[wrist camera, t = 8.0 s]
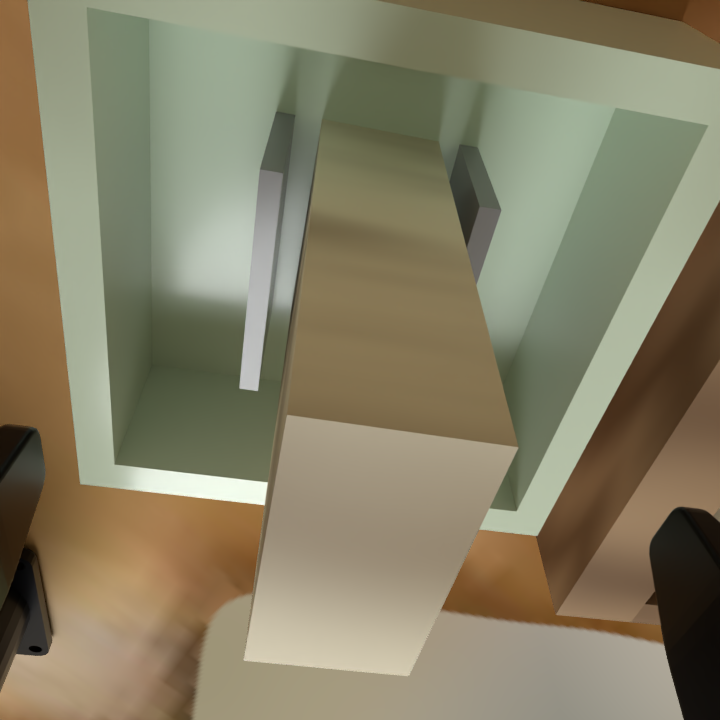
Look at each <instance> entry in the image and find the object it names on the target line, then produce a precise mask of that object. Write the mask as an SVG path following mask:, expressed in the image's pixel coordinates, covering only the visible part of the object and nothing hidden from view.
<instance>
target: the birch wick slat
mask: <svg viewBox="0 0 720 720" xmlns="http://www.w3.org/2000/svg"><path fill="white" fill-rule="evenodd" d="M518 448H519V447H518V443H517V439H516V435H515V431H514V428H513V424H512V420H511V416H510V412H509V408H508V405H507V401H506V397H505V393H504V389H503V386H502V382H501V378H500V374H499V370H498V366H497V363H496V359H495V355H494V351H493V347H492V343H491V340H490V336H489V332H488V328H487V324H486V320H485V317H484V313H483V309H482V305H481V301H480V297H479V294H478V290H477V286H476V282H475V278H474V275H473V271H472V267H471V263H470V259H469V255H468V252H467V248H466V244H465V240H464V236H463V232H462V229H461V225H460V221H459V217H458V213H457V209H456V206H455V202H454V198H453V194H452V190H451V186H450V183H449V179H448V175H447V171H446V167H445V163H444V160H443V156H442V152H441V148H440V144H439V142H438V141H433V140H428V139H423V138H418V137H413V136H407V135H402V134H397V133H392V132H387V131H382V130H377V129H372V128H366V127H361V126H356V125H351V124H346V123H341V122H336V121H330V120H325V119H322V122H321V128H320V134H319V140H318V147H317V153H316V159H315V165H314V171H313V178H312V184H311V190H310V196H309V202H308V209H307V215H306V221H305V227H304V233H303V240H302V246H301V252H300V258H299V265H298V271H297V277H296V283H295V289H294V296H293V302H292V308H291V314H290V321H289V329H288V336H287V344H286V351H285V358H284V366H283V373H282V380H281V388H280V395H279V403H278V410H277V417H276V425H275V432H274V440H273V447H272V454H271V462H270V469H269V476H268V484H267V491H266V499H265V506H264V513H263V521H262V528H261V536H260V543H259V550H258V558H257V565H256V572H255V580H254V587H253V595H252V602H251V610H250V617H249V624H248V632H247V640H246V647H245V654H244V661H255V662H265V663H275V664H286V665H296V666H307V667H318V668H328V669H338V670H349V671H360V672H370V673H381V674H392V675H401V676H409V674H410V672H411V670H412V668H413V666H414V664H415V662H416V660H417V658H418V656H419V654H420V651H421V649H422V647H423V645H424V643H425V641H426V639H427V637H428V635H429V632H430V631H431V629H432V627H433V624H434V622H435V620H436V618H437V616H438V614H439V612H440V610H441V608H442V606H443V604H444V602H445V599H446V597H447V595H448V593H449V591H450V589H451V587H452V585H453V583H454V581H455V579H456V577H457V575H458V572H459V570H460V568H461V566H462V564H463V562H464V560H465V558H466V556H467V554H468V552H469V550H470V548H471V545H472V543H473V541H474V539H475V537H476V535H477V533H478V531H479V529H480V527H481V525H482V523H483V520H484V518H485V516H486V514H487V512H488V510H489V508H490V506H491V504H492V502H493V500H494V498H495V496H496V493H497V491H498V489H499V487H500V485H501V483H502V481H503V479H504V477H505V475H506V473H507V471H508V468H509V466H510V464H511V462H512V460H513V458H514V456H515V454H516V452H517V450H518Z"/></svg>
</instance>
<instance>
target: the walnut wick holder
mask: <svg viewBox="0 0 720 720" xmlns="http://www.w3.org/2000/svg"><path fill="white" fill-rule="evenodd" d="M681 506H682V507H690V508H698V509H703V510H706V511H707V512H709V513H710V514H711V515H712V516H714V514H715V513H716V512H717V510H718V509H719V508H720V201H719V203H718V205H717V206H716V208H715V210H714V212H713V214H712V216H711V217H710V219H709V221H708V223H707V225H706V227H705V228H704V230H703V232H702V234H701V236H700V238H699V239H698V241H697V243H696V245H695V247H694V249H693V251H692V252H691V254H690V256H689V258H688V260H687V262H686V263H685V265H684V267H683V269H682V271H681V273H680V274H679V276H678V278H677V280H676V282H675V284H674V285H673V287H672V289H671V291H670V293H669V295H668V297H667V298H666V300H665V302H664V304H663V306H662V308H661V309H660V311H659V313H658V315H657V317H656V319H655V320H654V322H653V324H652V326H651V328H650V330H649V331H648V333H647V335H646V337H645V339H644V341H643V342H642V344H641V346H640V348H639V350H638V352H637V354H636V355H635V357H634V359H633V361H632V363H631V365H630V366H629V368H628V370H627V372H626V374H625V376H624V377H623V379H622V381H621V383H620V385H619V387H618V388H617V390H616V392H615V394H614V396H613V398H612V399H611V401H610V403H609V405H608V407H607V409H606V411H605V412H604V414H603V416H602V418H601V420H600V422H599V423H598V425H597V427H596V429H595V431H594V433H593V434H592V436H591V438H590V440H589V442H588V444H587V445H586V447H585V449H584V451H583V453H582V455H581V456H580V458H579V460H578V462H577V464H576V466H575V468H574V469H573V471H572V473H571V475H570V477H569V479H568V480H567V482H566V484H565V486H564V488H563V490H562V491H561V493H560V495H559V497H558V499H557V501H556V502H555V504H554V506H553V508H552V510H551V512H550V513H549V515H548V517H547V519H546V521H545V523H544V525H543V526H542V528H541V530H540V532H539V534H538V536H536V538H537V542H538V546H539V550H540V554H541V558H542V562H543V566H544V570H545V574H546V578H547V582H548V586H549V590H550V594H551V598H552V602H553V606H554V610H555V614H556V615H564V616H574V617H585V618H595V619H605V620H615V621H625V622H635V623H645V624H655V625H661V623H660V617H659V611H658V605H657V600H656V594H655V588H654V582H653V576H652V570H651V564H650V558H649V547H650V543H651V540H652V538H653V536H654V535H655V534H656V532H657V531H658V529H659V528H660V527H661V525H662V524H663V522H664V521H665V520H666V518H667V517H668V515H669V514H670V513H671V511H672V510H673V509H675V508H677V507H681Z"/></svg>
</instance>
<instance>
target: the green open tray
mask: <svg viewBox="0 0 720 720" xmlns="http://www.w3.org/2000/svg"><path fill="white" fill-rule="evenodd" d="M28 9H29V18H30V27H31V36H32V45H33V55H34V64H35V73H36V82H37V91H38V101H39V110H40V119H41V128H42V137H43V147H44V156H45V165H46V174H47V183H48V193H49V202H50V211H51V220H52V229H53V239H54V248H55V257H56V266H57V275H58V284H59V294H60V303H61V312H62V321H63V330H64V340H65V349H66V358H67V367H68V376H69V386H70V395H71V404H72V413H73V422H74V432H75V441H76V450H77V459H78V468H79V478H80V484H84V485H92V486H101V487H110V488H119V489H128V490H137V491H145V492H154V493H163V494H172V495H181V496H190V497H198V498H207V499H216V500H225V501H234V502H243V503H251V504H260V505H265V499H266V491H267V484H268V476H269V469H270V462H271V454H272V447H273V440H274V432H275V425H276V417H277V410H278V403H279V395H280V388H281V380H282V373H283V366H284V358H285V351H286V344H287V336H288V329H289V321H290V314H291V308H292V302H293V296H294V289H295V283H296V277H297V271H298V265H299V258H300V252H301V246H302V240H303V233H304V227H305V221H306V215H307V209H308V202H309V196H310V190H311V184H312V178H313V171H314V165H315V159H316V153H317V147H318V140H319V134H320V128H321V122H322V119H325V120H330V121H336V122H341V123H346V124H351V125H356V126H361V127H366V128H372V129H377V130H382V131H387V132H392V133H397V134H402V135H407V136H413V137H418V138H423V139H428V140H433V141H438V142H439V144H440V148H441V152H442V156H443V160H444V163H445V167H446V171H447V175H448V179H449V183H450V186H451V190H452V194H453V198H454V202H455V206H456V209H457V213H458V217H459V221H460V225H461V229H462V232H463V236H464V240H465V244H466V248H467V252H468V255H469V259H470V263H471V267H472V271H473V275H474V278H475V282H476V286H477V290H478V294H479V297H480V301H481V305H482V309H483V313H484V317H485V320H486V324H487V328H488V332H489V336H490V340H491V343H492V347H493V351H494V355H495V359H496V363H497V366H498V370H499V374H500V378H501V382H502V386H503V389H504V393H505V397H506V401H507V405H508V408H509V412H510V416H511V420H512V424H513V428H514V431H515V435H516V439H517V443H518V447H519V448H518V450H517V452H516V454H515V456H514V458H513V460H512V462H511V464H510V466H509V468H508V471H507V473H506V475H505V477H504V479H503V481H502V483H501V485H500V487H499V489H498V491H497V493H496V496H495V498H494V500H493V502H492V504H491V506H490V508H489V510H488V512H487V514H486V516H485V518H484V520H483V523H482V525H481V527H480V529H481V530H490V531H499V532H508V533H516V534H525V535H534V536H538V534H539V532H540V530H541V528H542V526H543V525H544V523H545V521H546V519H547V517H548V515H549V513H550V512H551V510H552V508H553V506H554V504H555V502H556V501H557V499H558V497H559V495H560V493H561V491H562V490H563V488H564V486H565V484H566V482H567V480H568V479H569V477H570V475H571V473H572V471H573V469H574V468H575V466H576V464H577V462H578V460H579V458H580V456H581V455H582V453H583V451H584V449H585V447H586V445H587V444H588V442H589V440H590V438H591V436H592V434H593V433H594V431H595V429H596V427H597V425H598V423H599V422H600V420H601V418H602V416H603V414H604V412H605V411H606V409H607V407H608V405H609V403H610V401H611V399H612V398H613V396H614V394H615V392H616V390H617V388H618V387H619V385H620V383H621V381H622V379H623V377H624V376H625V374H626V372H627V370H628V368H629V366H630V365H631V363H632V361H633V359H634V357H635V355H636V354H637V352H638V350H639V348H640V346H641V344H642V342H643V341H644V339H645V337H646V335H647V333H648V331H649V330H650V328H651V326H652V324H653V322H654V320H655V319H656V317H657V315H658V313H659V311H660V309H661V308H662V306H663V304H664V302H665V300H666V298H667V297H668V295H669V293H670V291H671V289H672V287H673V285H674V284H675V282H676V280H677V278H678V276H679V274H680V273H681V271H682V269H683V267H684V265H685V263H686V262H687V260H688V258H689V256H690V254H691V252H692V251H693V249H694V247H695V245H696V243H697V241H698V239H699V238H700V236H701V234H702V232H703V230H704V228H705V227H706V225H707V223H708V221H709V219H710V217H711V216H712V214H713V212H714V210H715V208H716V206H717V205H718V203H719V201H720V44H719V43H718V42H716V41H714V40H713V39H711V38H709V37H708V36H706V35H704V34H703V33H701V32H699V31H698V30H696V29H694V28H693V27H691V26H689V25H687V24H686V23H684V22H681V21H677V20H672V19H667V18H662V17H657V16H652V15H648V14H643V13H638V12H633V11H628V10H624V9H619V8H614V7H609V6H604V5H600V4H595V3H590V2H585V1H580V0H28Z"/></svg>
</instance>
